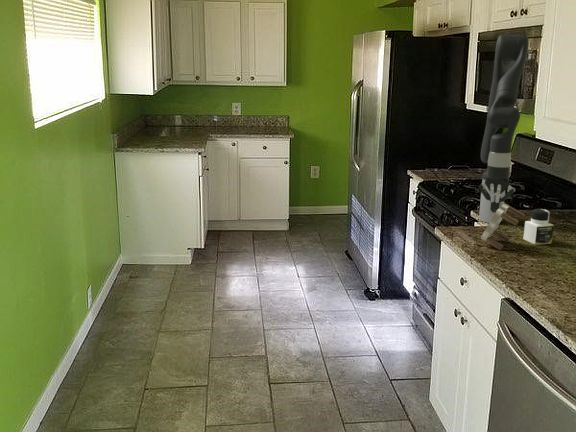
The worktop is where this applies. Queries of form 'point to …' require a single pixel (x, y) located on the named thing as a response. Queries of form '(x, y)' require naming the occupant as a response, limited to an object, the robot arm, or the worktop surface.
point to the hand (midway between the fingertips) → (494, 212)
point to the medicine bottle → (538, 228)
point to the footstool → (495, 222)
